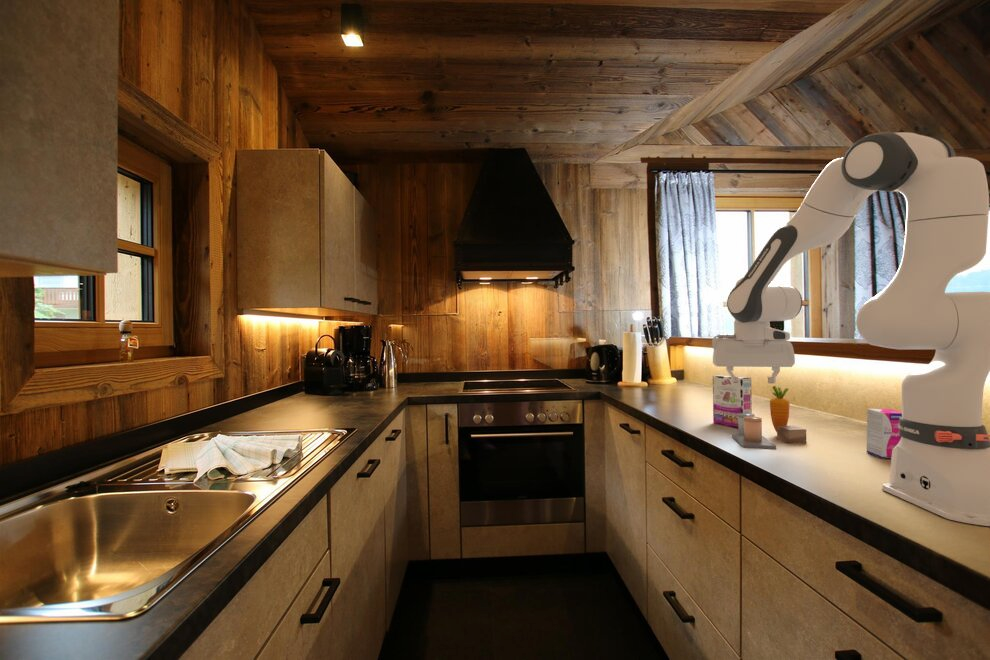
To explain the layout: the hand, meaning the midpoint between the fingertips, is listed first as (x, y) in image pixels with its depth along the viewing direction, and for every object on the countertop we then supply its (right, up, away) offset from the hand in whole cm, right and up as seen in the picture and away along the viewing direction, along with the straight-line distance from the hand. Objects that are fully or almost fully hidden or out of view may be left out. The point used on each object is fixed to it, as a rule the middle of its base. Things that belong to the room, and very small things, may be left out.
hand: (752, 383), depth 128 cm
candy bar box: (+6, -17, +23) cm, 29 cm away
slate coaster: (0, -17, 0) cm, 17 cm away
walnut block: (+12, -17, +2) cm, 21 cm away
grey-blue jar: (+4, -17, +10) cm, 20 cm away
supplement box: (+25, -17, -14) cm, 34 cm away
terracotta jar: (0, -16, +1) cm, 16 cm away
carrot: (+12, -17, +8) cm, 22 cm away
